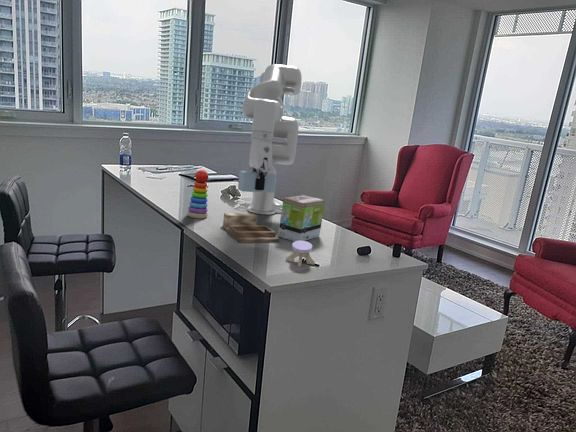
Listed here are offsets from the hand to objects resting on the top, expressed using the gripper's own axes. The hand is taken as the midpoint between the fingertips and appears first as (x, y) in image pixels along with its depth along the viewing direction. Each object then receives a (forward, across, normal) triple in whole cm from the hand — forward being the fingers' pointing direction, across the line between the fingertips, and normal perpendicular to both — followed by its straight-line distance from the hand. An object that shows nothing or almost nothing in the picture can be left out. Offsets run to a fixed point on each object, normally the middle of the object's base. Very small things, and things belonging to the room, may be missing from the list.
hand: (256, 187), depth 167 cm
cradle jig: (+17, 0, 0) cm, 17 cm away
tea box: (+18, -2, -18) cm, 26 cm away
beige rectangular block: (+18, +12, 0) cm, 21 cm away
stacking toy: (+18, +27, +12) cm, 34 cm away
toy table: (+18, -29, -5) cm, 35 cm away
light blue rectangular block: (+1, 0, 0) cm, 1 cm away
